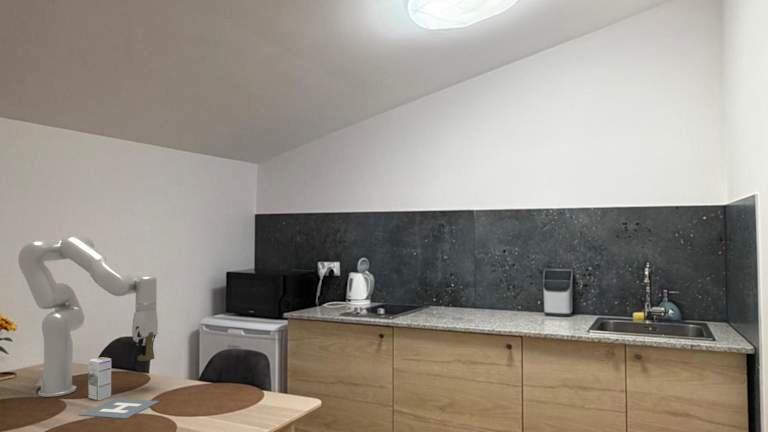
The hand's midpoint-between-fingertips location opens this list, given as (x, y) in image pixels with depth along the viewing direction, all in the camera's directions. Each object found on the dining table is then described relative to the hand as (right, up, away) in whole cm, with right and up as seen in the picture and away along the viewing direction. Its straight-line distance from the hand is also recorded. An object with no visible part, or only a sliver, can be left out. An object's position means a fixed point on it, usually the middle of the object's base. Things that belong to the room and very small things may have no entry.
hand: (145, 353), depth 203 cm
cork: (0, -2, 0) cm, 2 cm away
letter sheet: (+1, -13, -21) cm, 25 cm away
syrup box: (-13, -14, -9) cm, 21 cm away
